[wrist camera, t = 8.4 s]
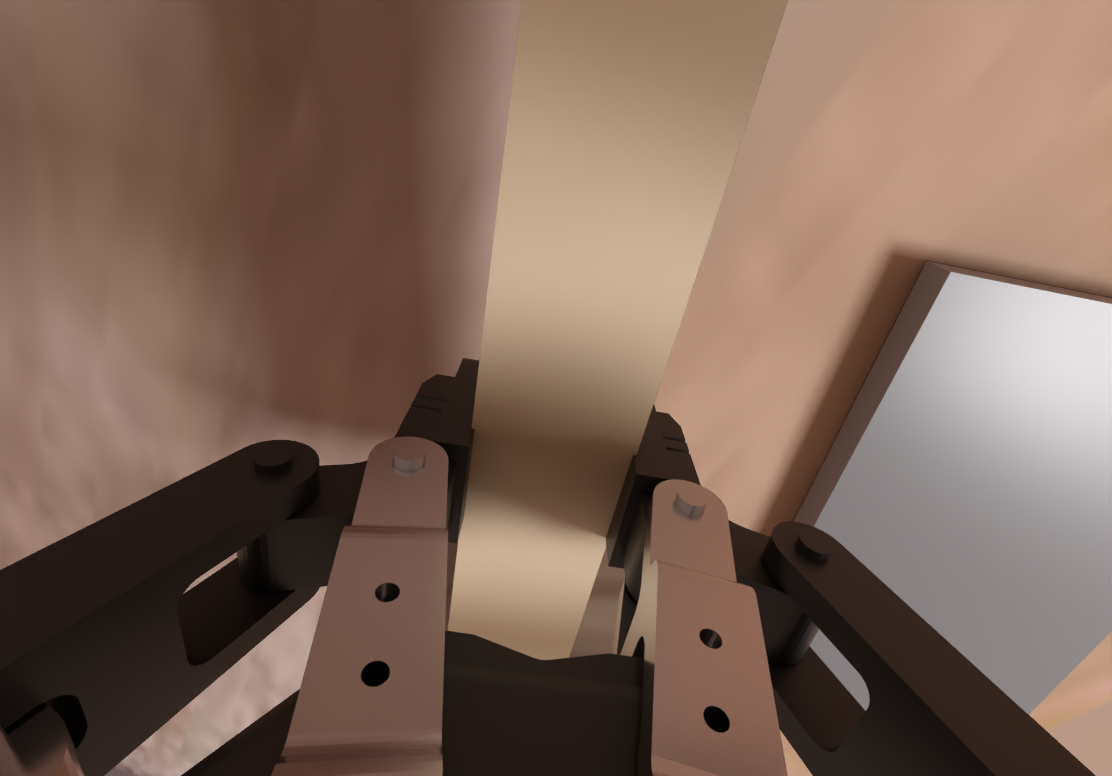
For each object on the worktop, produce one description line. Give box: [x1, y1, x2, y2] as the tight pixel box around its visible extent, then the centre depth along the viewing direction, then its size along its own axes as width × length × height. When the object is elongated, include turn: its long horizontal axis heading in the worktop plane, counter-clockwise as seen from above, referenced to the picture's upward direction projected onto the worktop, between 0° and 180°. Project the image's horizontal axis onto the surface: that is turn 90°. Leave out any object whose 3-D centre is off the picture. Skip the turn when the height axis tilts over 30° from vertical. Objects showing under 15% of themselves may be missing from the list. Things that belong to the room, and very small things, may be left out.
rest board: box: [793, 261, 1112, 715], centre depth 21 cm, size 20×14×1 cm
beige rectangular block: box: [445, 0, 788, 660], centre depth 12 cm, size 15×8×5 cm, turn 170°
